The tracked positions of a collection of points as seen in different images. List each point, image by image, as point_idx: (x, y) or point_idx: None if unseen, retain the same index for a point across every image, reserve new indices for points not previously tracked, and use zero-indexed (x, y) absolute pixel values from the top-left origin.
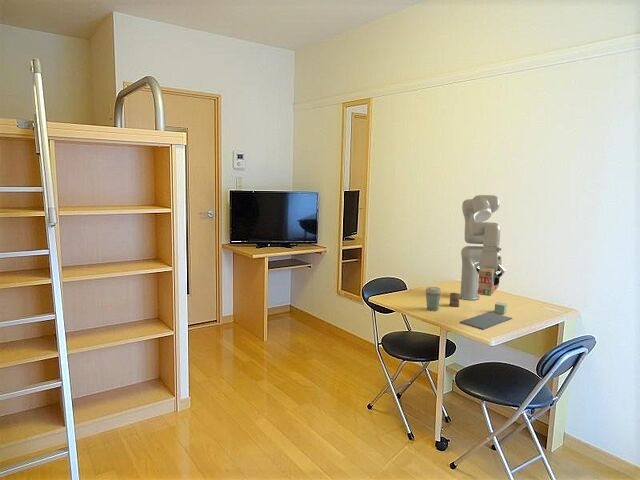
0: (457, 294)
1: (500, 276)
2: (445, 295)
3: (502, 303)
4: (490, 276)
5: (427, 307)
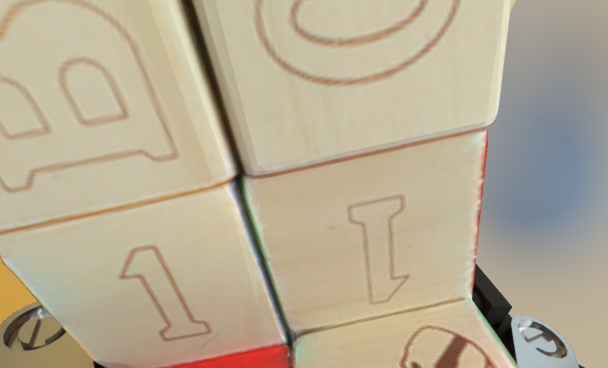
0: None
1: (549, 336)
2: None
3: None
4: None
5: None
